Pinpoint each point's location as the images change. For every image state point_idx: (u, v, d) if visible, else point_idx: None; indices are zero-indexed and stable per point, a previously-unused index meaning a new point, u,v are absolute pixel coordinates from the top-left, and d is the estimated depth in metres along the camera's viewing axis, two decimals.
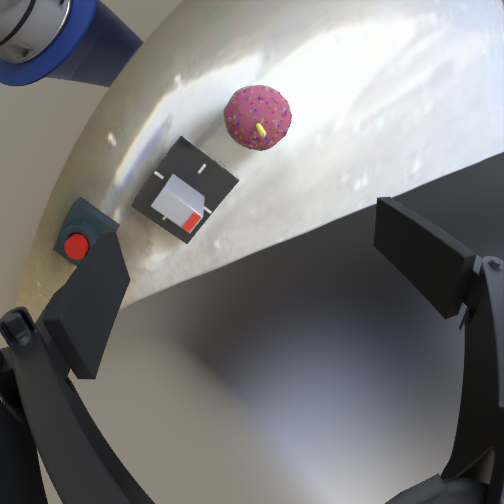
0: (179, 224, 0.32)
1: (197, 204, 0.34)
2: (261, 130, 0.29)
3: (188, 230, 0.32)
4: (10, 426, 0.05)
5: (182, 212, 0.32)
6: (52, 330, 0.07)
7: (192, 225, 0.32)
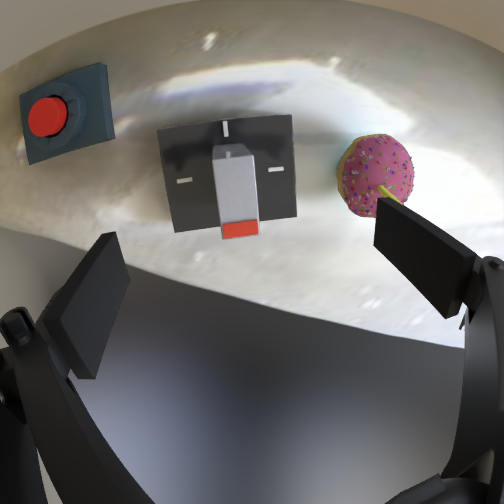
0: (222, 217, 0.19)
1: None
2: (401, 203, 0.20)
3: (226, 235, 0.19)
4: (10, 426, 0.05)
5: (242, 207, 0.19)
6: (52, 330, 0.07)
7: (238, 234, 0.20)
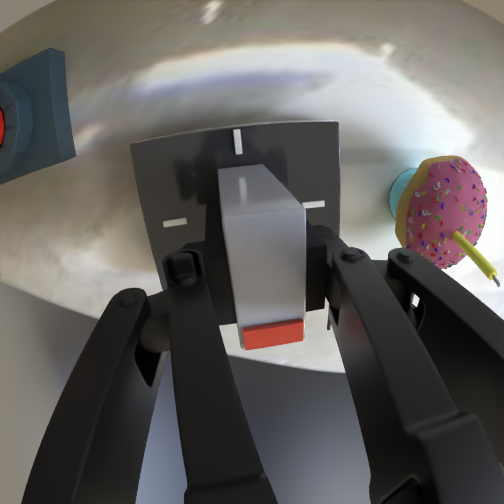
0: (242, 319, 0.10)
1: None
2: (492, 266, 0.12)
3: (249, 346, 0.11)
4: (135, 388, 0.06)
5: (279, 301, 0.10)
6: (212, 272, 0.10)
7: (269, 343, 0.11)
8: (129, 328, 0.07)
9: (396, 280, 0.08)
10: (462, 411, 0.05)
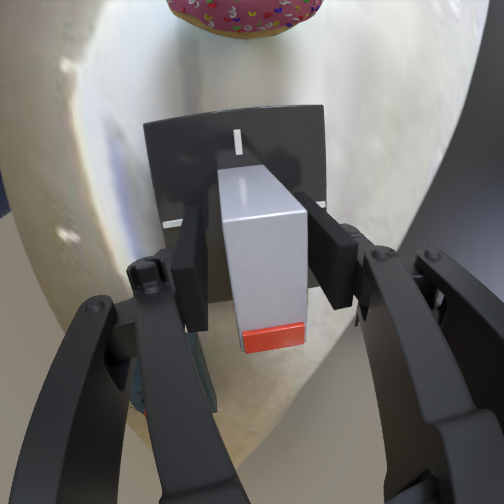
0: (242, 322, 0.10)
1: None
2: None
3: (250, 349, 0.11)
4: (106, 392, 0.06)
5: (280, 304, 0.10)
6: (179, 280, 0.09)
7: (269, 346, 0.11)
8: (97, 334, 0.07)
9: (425, 277, 0.08)
10: (477, 407, 0.05)
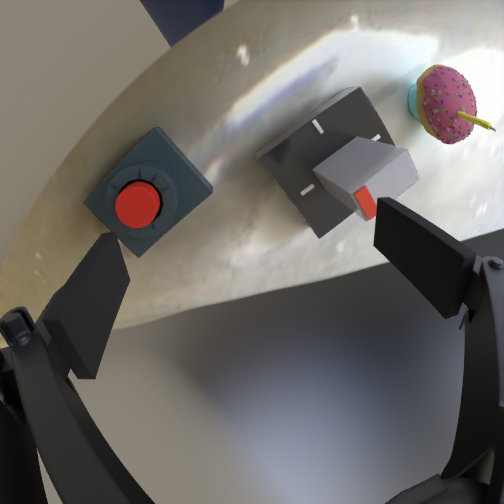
0: (369, 182, 0.18)
1: None
2: None
3: (358, 195, 0.18)
4: (10, 426, 0.05)
5: (383, 193, 0.18)
6: (52, 330, 0.07)
7: (363, 203, 0.18)
8: None
9: None
10: None
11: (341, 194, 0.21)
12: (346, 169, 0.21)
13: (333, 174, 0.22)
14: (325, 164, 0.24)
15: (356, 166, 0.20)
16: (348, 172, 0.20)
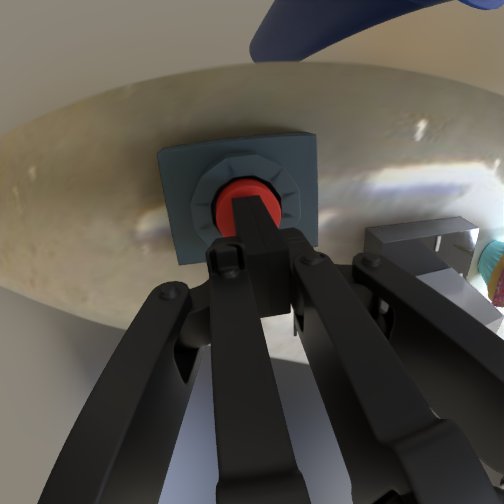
0: None
1: None
2: None
3: None
4: (171, 384, 0.06)
5: None
6: (251, 265, 0.10)
7: None
8: (170, 323, 0.07)
9: (360, 286, 0.08)
10: (442, 418, 0.06)
11: None
12: None
13: None
14: (424, 281, 0.22)
15: (462, 306, 0.18)
16: None
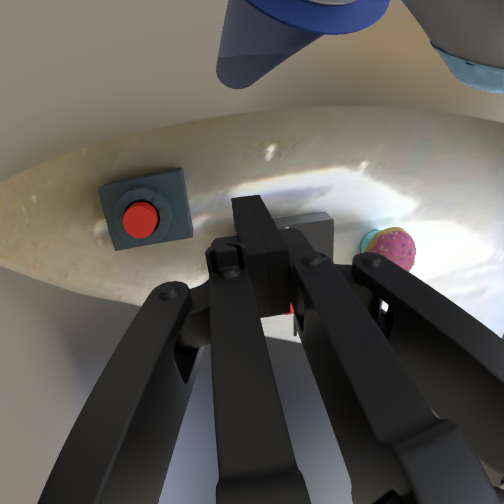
0: None
1: None
2: None
3: None
4: (171, 384, 0.06)
5: None
6: (251, 265, 0.10)
7: None
8: (170, 323, 0.07)
9: (360, 286, 0.08)
10: (442, 417, 0.06)
11: None
12: None
13: None
14: None
15: None
16: None
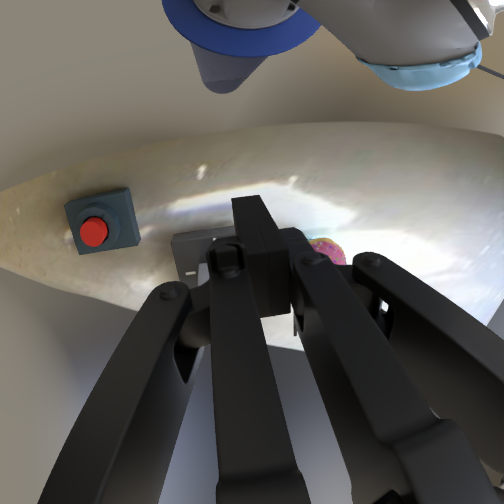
0: None
1: None
2: None
3: None
4: (171, 384, 0.06)
5: None
6: (251, 265, 0.10)
7: None
8: (170, 323, 0.07)
9: (360, 286, 0.08)
10: (442, 417, 0.06)
11: None
12: None
13: (202, 278, 0.37)
14: (206, 266, 0.40)
15: None
16: None
